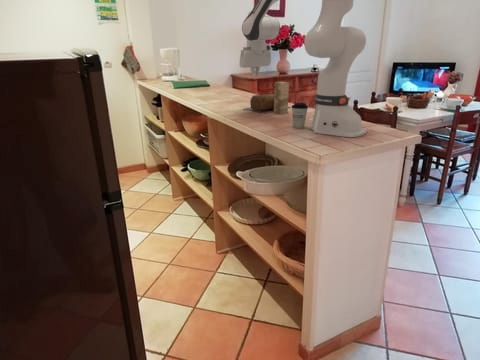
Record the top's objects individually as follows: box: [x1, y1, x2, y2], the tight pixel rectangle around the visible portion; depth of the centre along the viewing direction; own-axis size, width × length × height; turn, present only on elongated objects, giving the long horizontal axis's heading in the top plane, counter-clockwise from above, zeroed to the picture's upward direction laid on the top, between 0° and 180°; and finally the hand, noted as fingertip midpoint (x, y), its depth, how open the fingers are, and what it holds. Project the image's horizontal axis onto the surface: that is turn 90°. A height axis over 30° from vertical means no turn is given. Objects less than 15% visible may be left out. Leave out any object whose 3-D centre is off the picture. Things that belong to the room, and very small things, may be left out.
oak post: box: [273, 81, 290, 115], centre depth 174 cm, size 5×5×15 cm
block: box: [249, 93, 274, 110], centre depth 182 cm, size 11×8×20 cm
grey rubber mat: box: [242, 106, 291, 114], centre depth 187 cm, size 16×20×1 cm
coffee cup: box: [291, 102, 309, 129], centre depth 145 cm, size 7×7×10 cm
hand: (255, 76), depth 174 cm, fingers closed
